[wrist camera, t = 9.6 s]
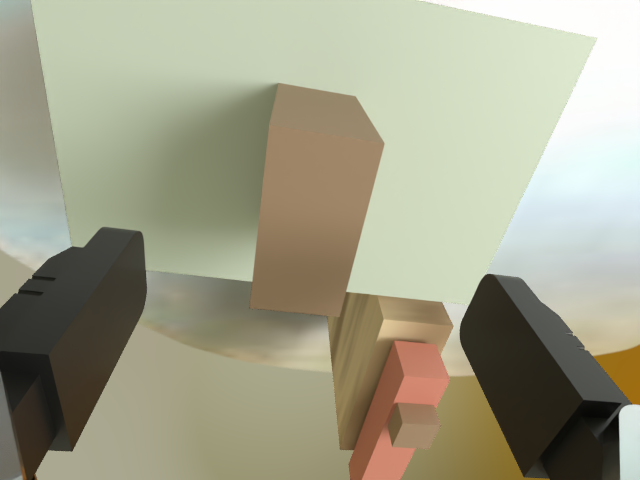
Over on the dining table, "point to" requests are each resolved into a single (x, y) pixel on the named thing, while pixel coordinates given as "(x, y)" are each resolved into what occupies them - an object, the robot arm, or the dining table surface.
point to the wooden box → (374, 349)
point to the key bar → (400, 412)
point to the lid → (303, 137)
